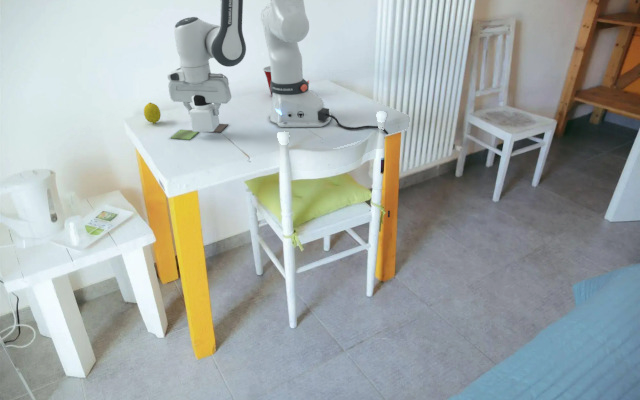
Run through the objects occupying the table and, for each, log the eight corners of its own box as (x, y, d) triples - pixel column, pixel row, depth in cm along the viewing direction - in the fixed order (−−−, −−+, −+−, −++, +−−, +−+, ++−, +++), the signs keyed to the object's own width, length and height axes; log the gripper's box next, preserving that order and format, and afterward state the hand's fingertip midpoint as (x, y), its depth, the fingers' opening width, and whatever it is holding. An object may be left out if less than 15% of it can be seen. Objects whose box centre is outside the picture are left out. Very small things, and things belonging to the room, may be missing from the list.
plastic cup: (279, 89, 199) (277, 61, 193) (296, 95, 193) (294, 66, 186) (259, 96, 192) (256, 67, 186) (276, 101, 186) (274, 71, 180)
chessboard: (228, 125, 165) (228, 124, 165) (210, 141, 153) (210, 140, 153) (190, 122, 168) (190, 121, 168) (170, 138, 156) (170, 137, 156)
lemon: (165, 123, 168) (160, 102, 164) (151, 127, 165) (146, 106, 161) (157, 119, 171) (153, 98, 167) (143, 124, 168) (138, 102, 164)
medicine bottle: (219, 124, 158) (214, 89, 152) (213, 132, 152) (207, 96, 146) (199, 123, 159) (193, 89, 153) (192, 132, 153) (185, 96, 147)
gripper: (230, 70, 146) (236, 112, 153) (172, 69, 150) (181, 110, 158) (222, 76, 141) (229, 119, 148) (162, 75, 145) (171, 116, 152)
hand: (204, 114), depth 153 cm, fingers closed on medicine bottle, 7 cm apart
